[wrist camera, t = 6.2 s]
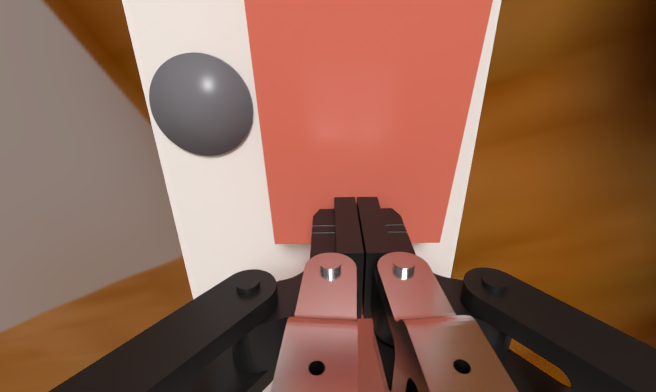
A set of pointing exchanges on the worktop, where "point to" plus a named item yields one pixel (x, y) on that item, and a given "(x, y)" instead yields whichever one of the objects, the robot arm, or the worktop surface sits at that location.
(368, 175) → the rocker middle
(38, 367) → the worktop surface
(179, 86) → the power strip
